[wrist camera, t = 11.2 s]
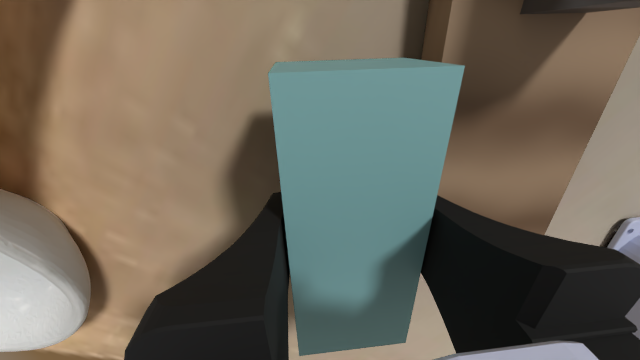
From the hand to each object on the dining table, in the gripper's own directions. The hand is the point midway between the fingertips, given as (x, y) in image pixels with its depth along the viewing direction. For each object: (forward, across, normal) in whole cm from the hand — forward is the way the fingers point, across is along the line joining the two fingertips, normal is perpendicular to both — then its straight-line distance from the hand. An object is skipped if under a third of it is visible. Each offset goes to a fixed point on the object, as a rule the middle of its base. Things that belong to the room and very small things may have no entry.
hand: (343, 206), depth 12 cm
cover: (+1, 0, 0) cm, 1 cm away
